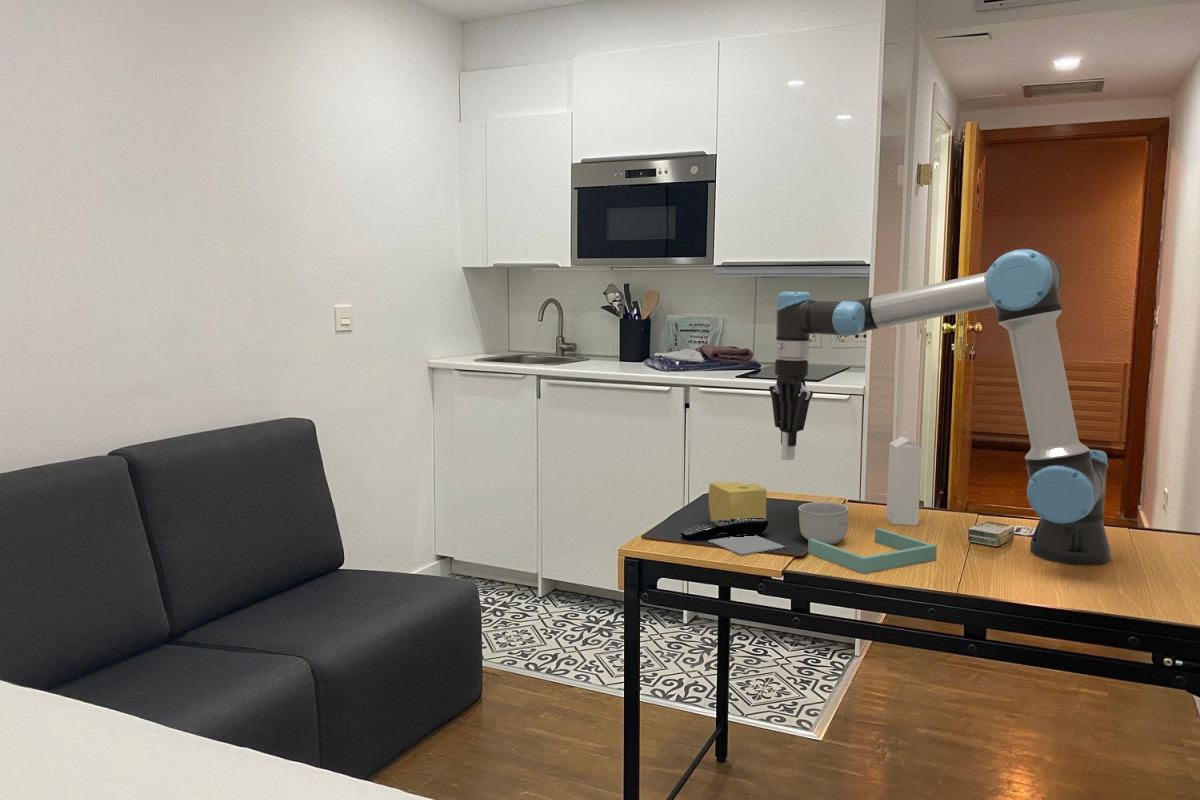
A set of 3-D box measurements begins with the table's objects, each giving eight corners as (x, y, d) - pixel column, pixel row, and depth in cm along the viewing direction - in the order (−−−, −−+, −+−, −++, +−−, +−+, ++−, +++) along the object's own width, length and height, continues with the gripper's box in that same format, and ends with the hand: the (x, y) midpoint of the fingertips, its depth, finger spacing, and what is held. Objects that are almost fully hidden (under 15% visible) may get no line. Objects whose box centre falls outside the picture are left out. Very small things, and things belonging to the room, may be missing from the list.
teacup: (848, 549, 199) (850, 513, 198) (797, 546, 201) (798, 510, 200) (845, 533, 212) (846, 499, 211) (797, 530, 214) (798, 496, 213)
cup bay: (936, 559, 191) (936, 545, 191) (863, 573, 181) (863, 559, 181) (878, 541, 205) (879, 528, 205) (807, 553, 195) (808, 539, 195)
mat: (785, 548, 199) (786, 546, 199) (741, 555, 193) (741, 553, 193) (751, 535, 209) (751, 533, 209) (708, 542, 204) (708, 540, 204)
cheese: (746, 519, 224) (747, 479, 223) (768, 530, 214) (769, 488, 213) (707, 523, 221) (708, 482, 220) (727, 534, 211) (728, 491, 210)
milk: (910, 519, 225) (915, 430, 223) (918, 525, 219) (923, 434, 217) (885, 518, 225) (889, 429, 223) (892, 525, 219) (897, 433, 217)
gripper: (761, 357, 216) (757, 455, 219) (797, 361, 205) (793, 465, 208) (786, 356, 220) (782, 453, 223) (823, 360, 208) (819, 462, 211)
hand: (787, 459), depth 215 cm, fingers closed
